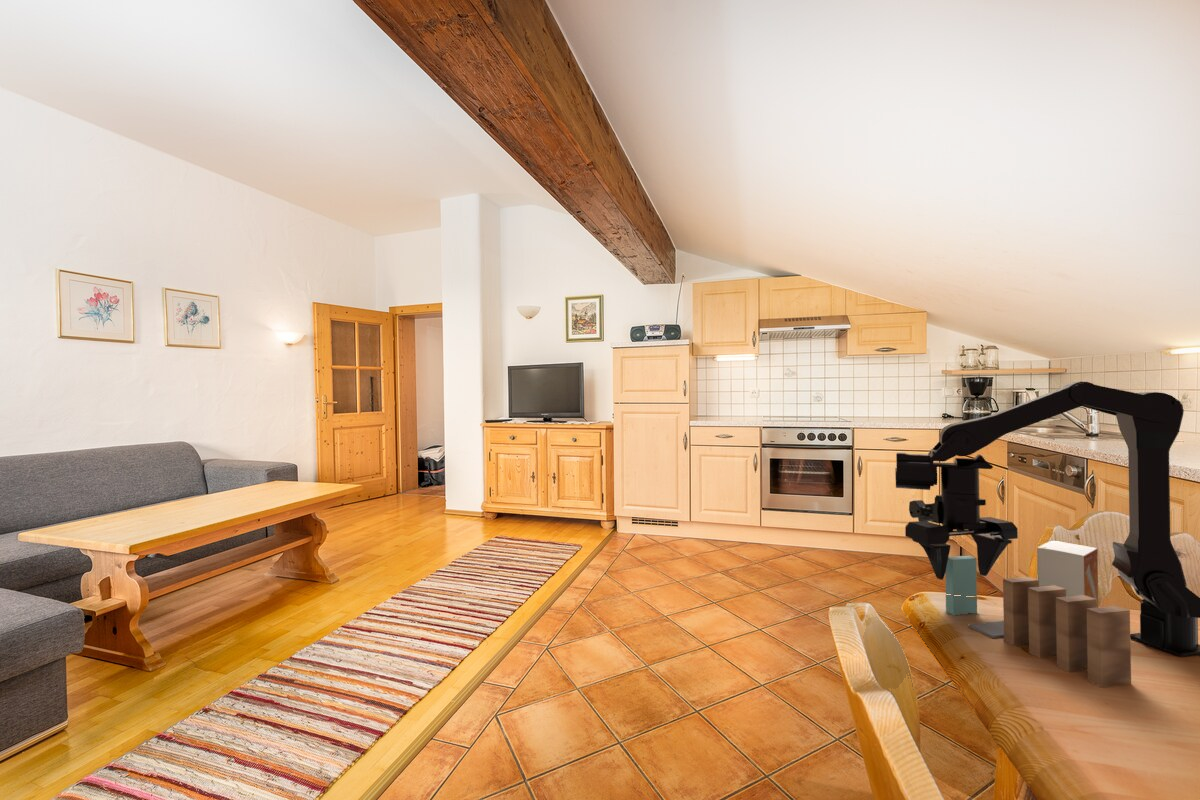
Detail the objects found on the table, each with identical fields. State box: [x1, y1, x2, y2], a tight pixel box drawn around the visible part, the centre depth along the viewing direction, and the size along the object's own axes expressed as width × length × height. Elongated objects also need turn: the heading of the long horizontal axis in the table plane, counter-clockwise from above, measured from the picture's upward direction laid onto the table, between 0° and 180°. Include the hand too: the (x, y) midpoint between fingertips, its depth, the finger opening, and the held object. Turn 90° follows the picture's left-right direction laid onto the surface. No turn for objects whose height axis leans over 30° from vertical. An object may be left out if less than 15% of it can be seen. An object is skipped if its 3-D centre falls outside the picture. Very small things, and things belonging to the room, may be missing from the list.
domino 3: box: [1028, 585, 1066, 659], centre depth 77 cm, size 5×2×10 cm, turn 100°
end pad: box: [968, 620, 1004, 639], centre depth 85 cm, size 7×4×1 cm, turn 100°
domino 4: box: [1056, 595, 1096, 673], centre depth 73 cm, size 5×2×10 cm, turn 100°
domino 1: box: [944, 555, 978, 616], centre depth 92 cm, size 5×2×10 cm, turn 100°
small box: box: [1036, 540, 1099, 608], centre depth 88 cm, size 8×6×13 cm
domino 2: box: [1002, 576, 1039, 646], centre depth 81 cm, size 5×2×10 cm, turn 100°
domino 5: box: [1087, 605, 1132, 688], centre depth 69 cm, size 5×2×10 cm, turn 100°
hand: (961, 577), depth 92 cm, fingers open, 9 cm apart
